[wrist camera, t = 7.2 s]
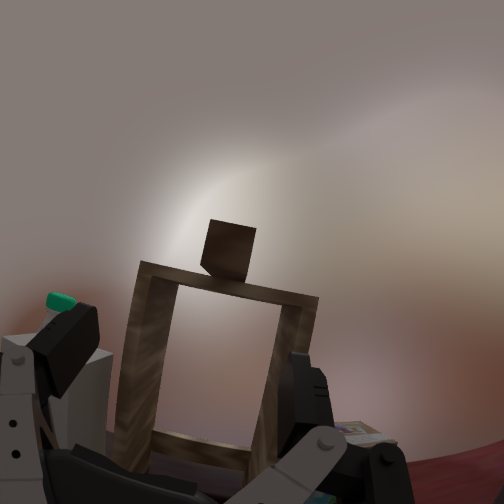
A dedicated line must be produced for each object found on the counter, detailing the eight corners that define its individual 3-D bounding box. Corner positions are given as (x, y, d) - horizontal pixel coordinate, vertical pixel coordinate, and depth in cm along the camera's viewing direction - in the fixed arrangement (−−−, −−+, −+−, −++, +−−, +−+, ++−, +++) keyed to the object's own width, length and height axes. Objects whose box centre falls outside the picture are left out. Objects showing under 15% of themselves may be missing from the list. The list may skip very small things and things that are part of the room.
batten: (242, 288, 42) (247, 266, 42) (247, 274, 20) (256, 228, 21) (220, 284, 42) (224, 261, 42) (199, 264, 20) (210, 219, 21)
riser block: (105, 505, 24) (113, 353, 27) (78, 543, 15) (70, 369, 18) (52, 480, 23) (53, 331, 27) (18, 509, 15) (1, 336, 18)
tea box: (277, 536, 25) (307, 452, 27) (253, 497, 34) (275, 419, 37) (367, 517, 29) (400, 439, 31) (335, 488, 38) (359, 418, 41)
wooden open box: (250, 486, 37) (293, 299, 43) (254, 540, 24) (319, 297, 29) (140, 462, 37) (170, 273, 43) (112, 508, 24) (140, 260, 29)
